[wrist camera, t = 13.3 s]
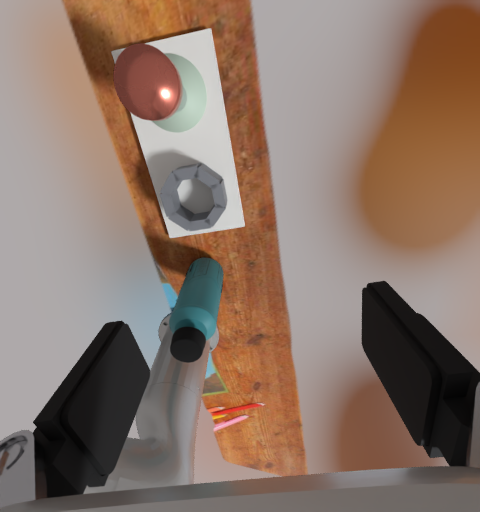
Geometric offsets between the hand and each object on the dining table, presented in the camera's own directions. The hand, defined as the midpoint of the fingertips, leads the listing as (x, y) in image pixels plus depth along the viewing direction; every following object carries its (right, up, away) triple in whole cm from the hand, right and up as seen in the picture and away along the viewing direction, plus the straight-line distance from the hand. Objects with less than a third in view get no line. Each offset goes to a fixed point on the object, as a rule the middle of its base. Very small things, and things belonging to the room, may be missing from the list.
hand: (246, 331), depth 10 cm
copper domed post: (-9, +25, +24) cm, 36 cm away
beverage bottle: (-6, +1, +37) cm, 38 cm away
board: (-8, +19, +28) cm, 35 cm away
